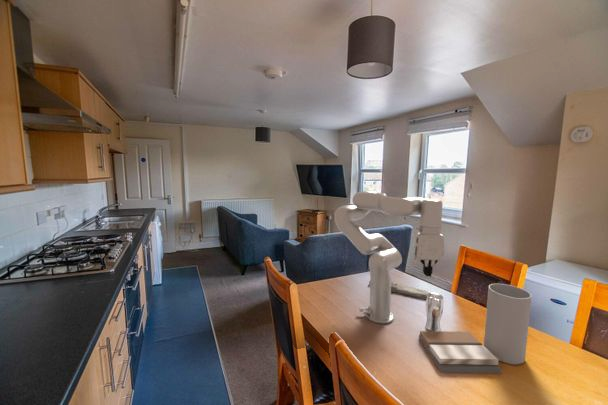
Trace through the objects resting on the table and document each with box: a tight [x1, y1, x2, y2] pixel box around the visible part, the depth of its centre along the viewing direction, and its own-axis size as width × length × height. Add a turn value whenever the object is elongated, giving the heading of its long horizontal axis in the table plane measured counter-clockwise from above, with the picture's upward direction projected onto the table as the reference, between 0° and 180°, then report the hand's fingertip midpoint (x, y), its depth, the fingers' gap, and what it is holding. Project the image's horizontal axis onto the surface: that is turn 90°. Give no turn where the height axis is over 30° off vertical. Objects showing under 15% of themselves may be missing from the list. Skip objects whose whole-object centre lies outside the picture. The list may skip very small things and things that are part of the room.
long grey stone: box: [368, 281, 430, 300], centre depth 153 cm, size 35×5×10 cm
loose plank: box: [430, 344, 499, 366], centre depth 96 cm, size 20×8×2 cm, turn 89°
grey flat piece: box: [418, 330, 502, 374], centre depth 100 cm, size 20×19×4 cm
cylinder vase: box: [483, 283, 533, 365], centre depth 99 cm, size 12×12×25 cm
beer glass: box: [425, 292, 444, 331], centre depth 115 cm, size 7×7×15 cm
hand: (427, 275), depth 106 cm, fingers closed
